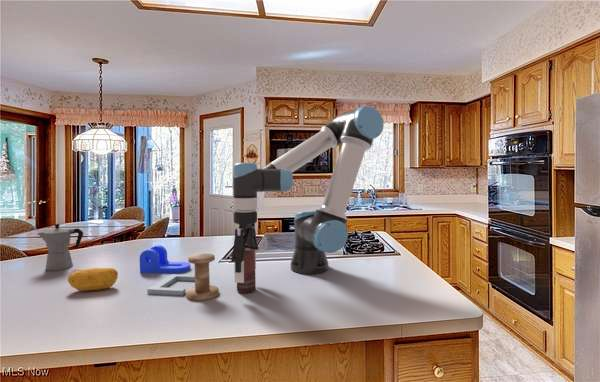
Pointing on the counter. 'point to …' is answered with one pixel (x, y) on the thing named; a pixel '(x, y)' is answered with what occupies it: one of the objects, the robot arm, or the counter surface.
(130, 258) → the counter surface
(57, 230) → the coffeepot
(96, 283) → the potato
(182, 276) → the grey u-shaped frame
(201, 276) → the bobbin
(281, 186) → the robot arm
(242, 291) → the can
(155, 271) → the bracket
